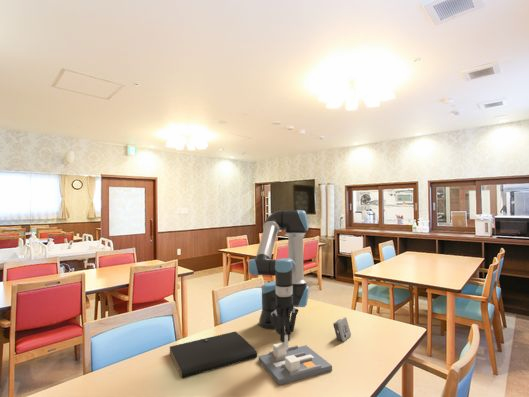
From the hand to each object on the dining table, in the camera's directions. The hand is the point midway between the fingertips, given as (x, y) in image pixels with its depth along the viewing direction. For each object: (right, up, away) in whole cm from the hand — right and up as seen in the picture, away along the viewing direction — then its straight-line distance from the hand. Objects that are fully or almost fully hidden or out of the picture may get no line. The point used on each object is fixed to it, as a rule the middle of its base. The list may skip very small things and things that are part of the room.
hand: (285, 348), depth 133 cm
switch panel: (+3, -4, -5) cm, 8 cm away
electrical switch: (+30, -5, +20) cm, 37 cm away
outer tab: (+2, -2, -13) cm, 13 cm away
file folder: (-33, -6, +4) cm, 33 cm away
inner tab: (-3, -2, -1) cm, 4 cm away
